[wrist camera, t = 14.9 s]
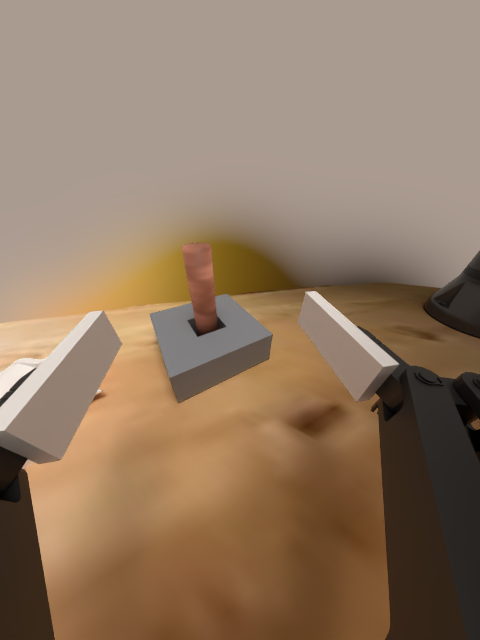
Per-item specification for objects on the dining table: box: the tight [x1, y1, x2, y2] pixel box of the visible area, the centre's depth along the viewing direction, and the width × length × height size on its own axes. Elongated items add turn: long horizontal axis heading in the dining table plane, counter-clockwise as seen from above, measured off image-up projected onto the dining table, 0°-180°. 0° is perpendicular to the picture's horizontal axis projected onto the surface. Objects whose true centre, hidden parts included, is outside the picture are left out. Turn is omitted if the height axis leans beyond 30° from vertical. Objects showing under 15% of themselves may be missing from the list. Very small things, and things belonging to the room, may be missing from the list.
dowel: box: [182, 243, 218, 337], centre depth 24 cm, size 3×3×16 cm
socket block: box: [150, 294, 273, 403], centre depth 27 cm, size 14×14×5 cm
